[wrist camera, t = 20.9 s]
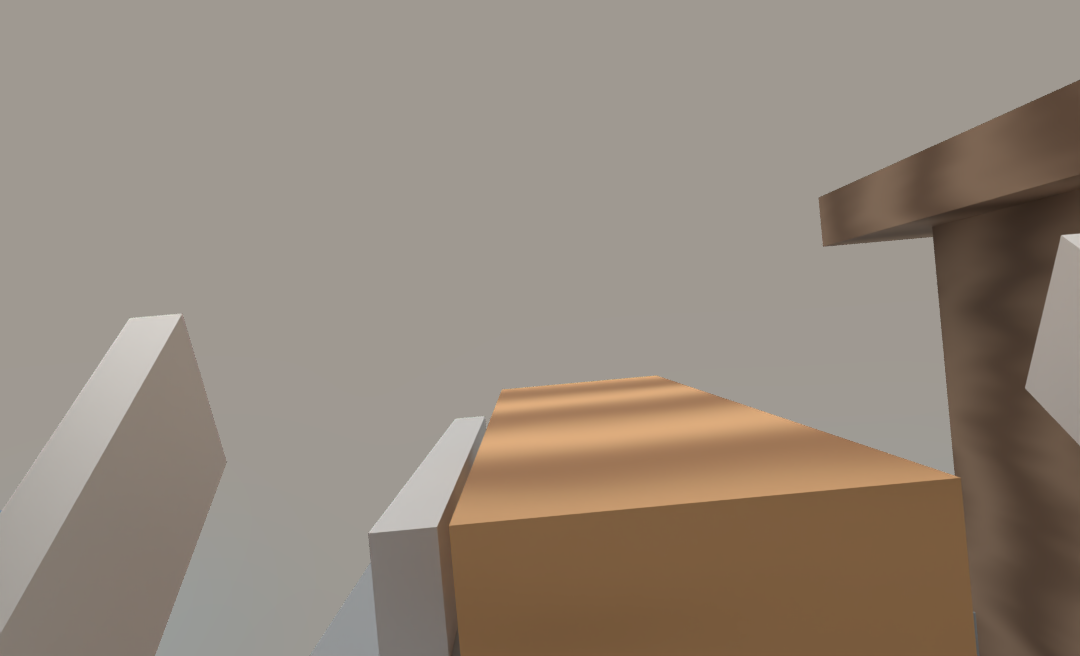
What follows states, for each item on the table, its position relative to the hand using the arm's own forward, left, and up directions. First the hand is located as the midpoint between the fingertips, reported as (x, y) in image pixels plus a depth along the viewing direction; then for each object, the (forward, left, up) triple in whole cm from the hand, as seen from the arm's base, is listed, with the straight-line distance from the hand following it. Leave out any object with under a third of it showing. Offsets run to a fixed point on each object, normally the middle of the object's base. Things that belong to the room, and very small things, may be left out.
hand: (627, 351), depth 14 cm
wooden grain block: (-2, +3, -5) cm, 6 cm away
